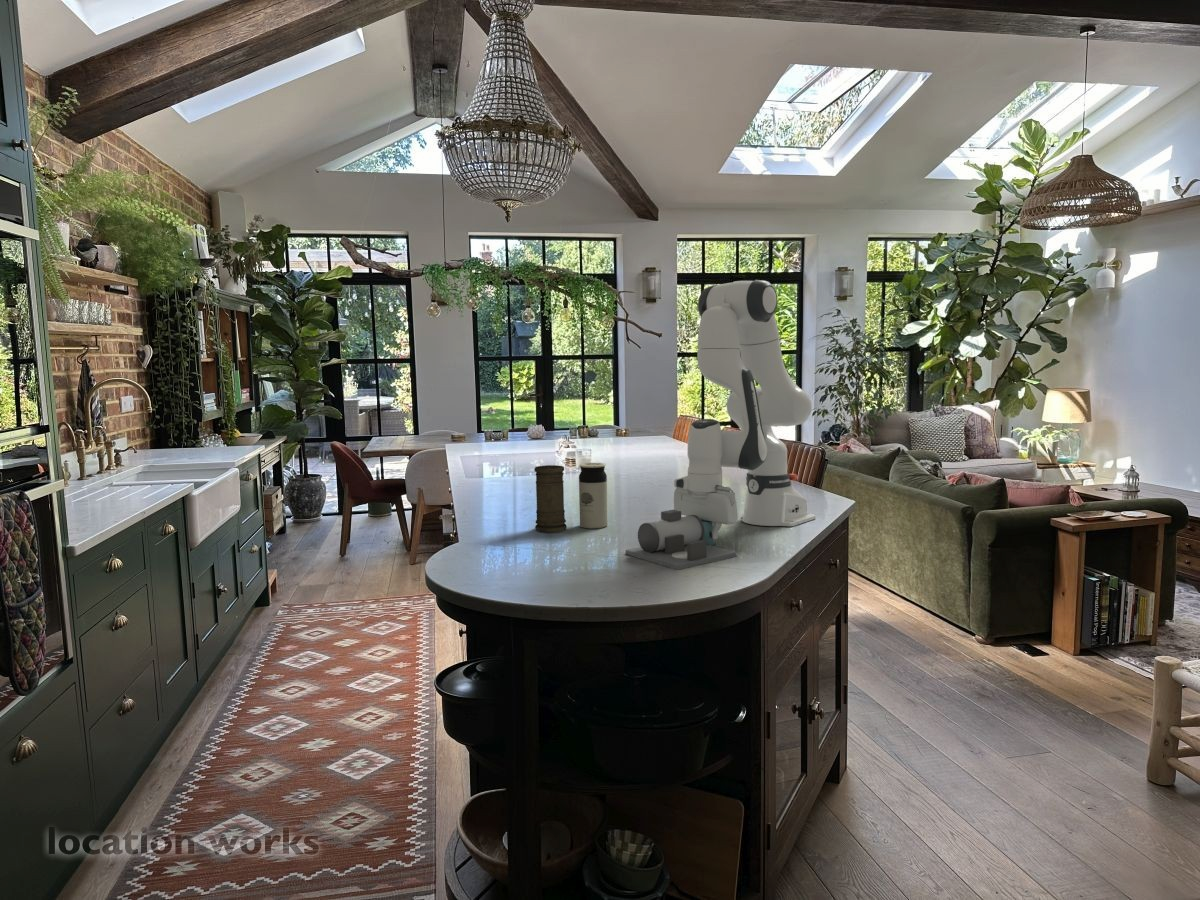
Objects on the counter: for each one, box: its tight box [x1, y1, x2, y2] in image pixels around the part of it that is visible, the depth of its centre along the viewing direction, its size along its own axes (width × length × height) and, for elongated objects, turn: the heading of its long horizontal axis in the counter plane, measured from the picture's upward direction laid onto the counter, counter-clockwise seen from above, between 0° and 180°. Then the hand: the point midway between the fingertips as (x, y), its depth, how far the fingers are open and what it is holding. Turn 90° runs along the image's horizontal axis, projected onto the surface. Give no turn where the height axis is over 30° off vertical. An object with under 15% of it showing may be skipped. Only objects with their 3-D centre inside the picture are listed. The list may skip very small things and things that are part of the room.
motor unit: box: [625, 509, 737, 570], centre depth 191 cm, size 19×19×10 cm
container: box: [534, 464, 568, 534], centre depth 222 cm, size 9×9×18 cm
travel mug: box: [578, 462, 608, 530], centre depth 226 cm, size 8×8×18 cm
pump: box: [701, 519, 716, 546], centre depth 203 cm, size 5×5×8 cm
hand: (704, 536), depth 203 cm, fingers closed on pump, 5 cm apart
